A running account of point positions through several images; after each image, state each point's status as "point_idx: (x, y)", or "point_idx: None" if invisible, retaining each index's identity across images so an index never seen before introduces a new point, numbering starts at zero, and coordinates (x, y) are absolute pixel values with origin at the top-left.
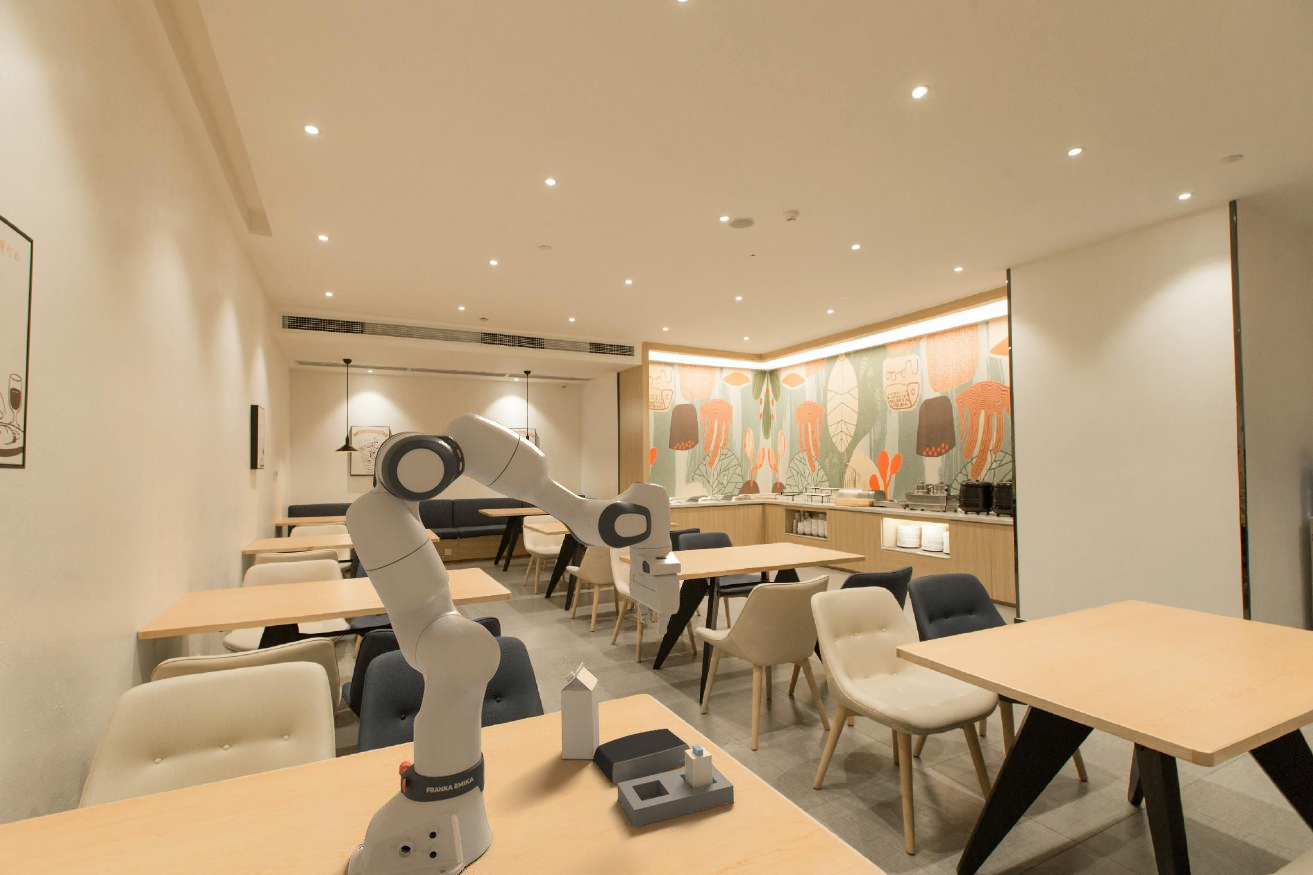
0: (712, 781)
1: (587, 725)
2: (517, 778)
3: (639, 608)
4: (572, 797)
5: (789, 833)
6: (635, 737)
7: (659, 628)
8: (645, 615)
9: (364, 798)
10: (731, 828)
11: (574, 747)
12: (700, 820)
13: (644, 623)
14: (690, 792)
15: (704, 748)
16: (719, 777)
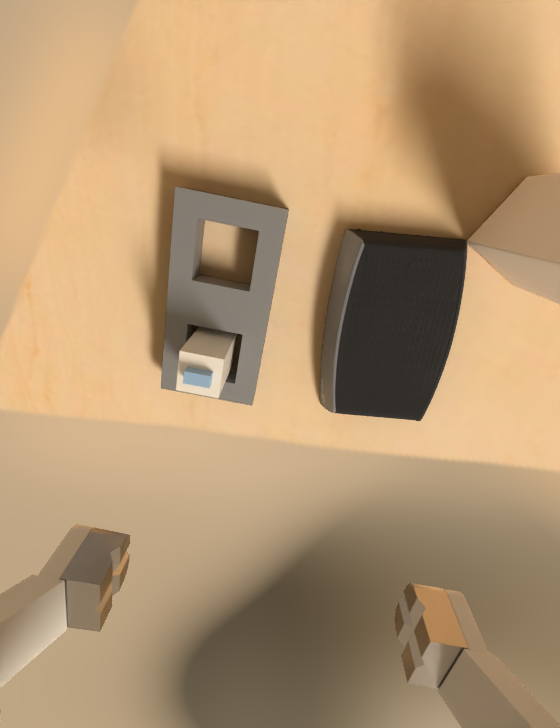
0: None
1: (515, 238)
2: (533, 21)
3: (517, 709)
4: (355, 121)
5: (62, 386)
6: (432, 344)
7: (52, 559)
8: (422, 656)
9: None
10: (107, 328)
11: (514, 203)
12: (149, 301)
13: (405, 587)
14: (177, 315)
15: (208, 395)
16: None
